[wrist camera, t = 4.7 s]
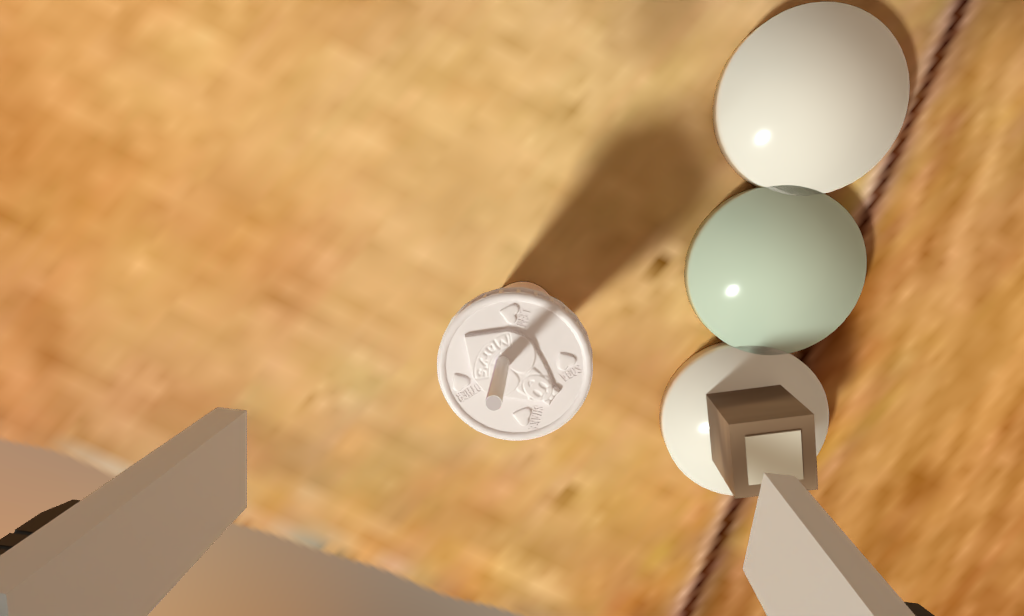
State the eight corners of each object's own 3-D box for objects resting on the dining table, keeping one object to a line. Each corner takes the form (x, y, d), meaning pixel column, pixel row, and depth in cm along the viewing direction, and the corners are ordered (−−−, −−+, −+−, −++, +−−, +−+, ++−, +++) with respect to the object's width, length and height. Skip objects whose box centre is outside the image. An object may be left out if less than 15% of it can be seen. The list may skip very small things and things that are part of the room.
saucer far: (673, 330, 32) (678, 336, 31) (835, 348, 32) (846, 355, 30) (648, 475, 34) (651, 485, 33) (799, 493, 34) (809, 504, 32)
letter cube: (705, 393, 31) (729, 425, 27) (780, 384, 31) (815, 415, 27) (712, 459, 32) (736, 499, 28) (784, 451, 32) (818, 490, 28)
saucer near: (730, 0, 28) (738, -8, 27) (915, 18, 28) (931, 10, 27) (698, 185, 30) (704, 186, 29) (870, 203, 30) (883, 204, 29)
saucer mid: (700, 176, 30) (706, 176, 29) (872, 194, 30) (886, 194, 28) (671, 339, 32) (676, 345, 31) (832, 357, 32) (844, 364, 30)
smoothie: (509, 234, 31) (482, 277, 17) (602, 301, 32) (647, 393, 18) (445, 325, 32) (373, 431, 19) (535, 388, 33) (530, 535, 19)
